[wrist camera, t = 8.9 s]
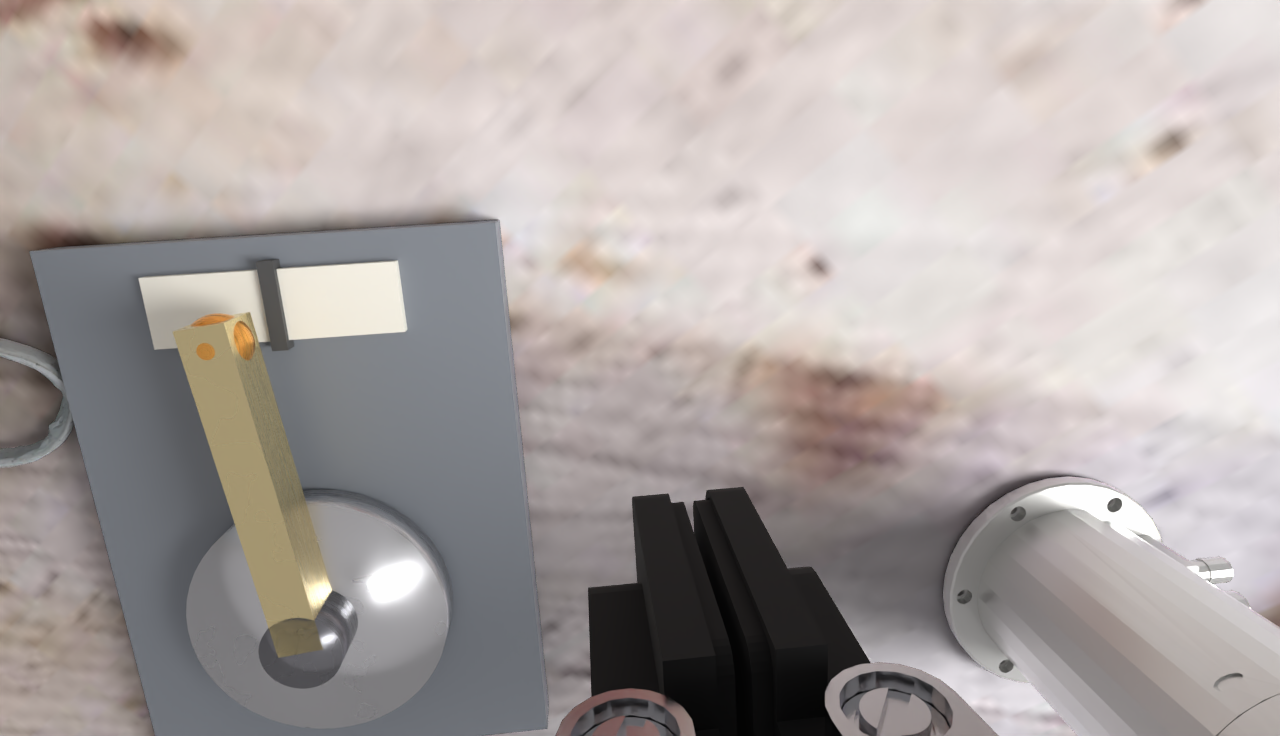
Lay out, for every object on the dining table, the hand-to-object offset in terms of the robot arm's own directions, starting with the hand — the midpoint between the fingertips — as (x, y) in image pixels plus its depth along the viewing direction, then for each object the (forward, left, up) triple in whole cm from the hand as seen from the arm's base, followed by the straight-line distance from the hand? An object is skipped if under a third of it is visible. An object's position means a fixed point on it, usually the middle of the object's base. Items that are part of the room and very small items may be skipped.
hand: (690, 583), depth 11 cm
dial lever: (+15, +9, -25) cm, 31 cm away
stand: (+15, +9, -27) cm, 32 cm away
